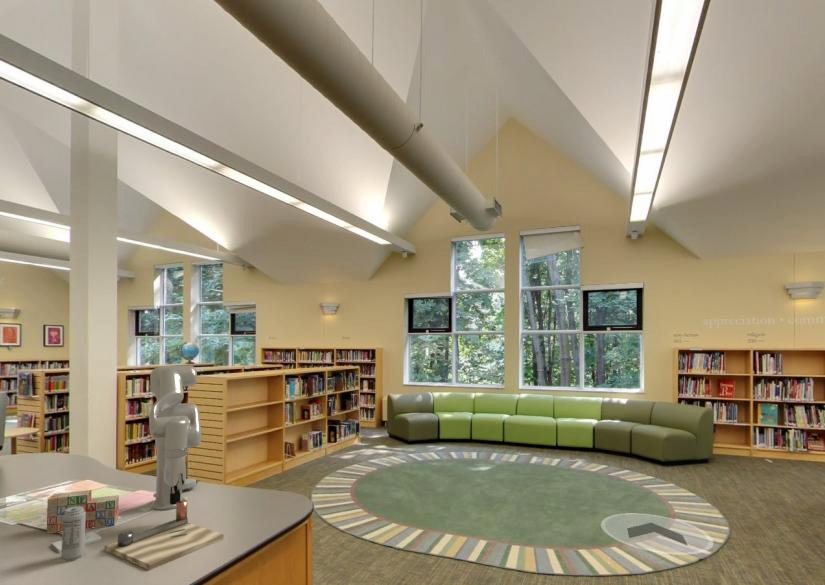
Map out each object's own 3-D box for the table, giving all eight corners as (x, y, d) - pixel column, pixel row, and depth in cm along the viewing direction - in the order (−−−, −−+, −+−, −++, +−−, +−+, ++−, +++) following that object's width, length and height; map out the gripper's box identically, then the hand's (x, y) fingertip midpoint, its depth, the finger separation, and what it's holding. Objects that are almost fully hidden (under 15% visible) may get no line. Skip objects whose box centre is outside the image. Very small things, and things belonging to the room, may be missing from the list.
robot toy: (160, 490, 228) (173, 495, 218) (160, 480, 229) (173, 484, 219) (187, 484, 237) (201, 488, 227) (187, 474, 238) (201, 478, 227)
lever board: (104, 550, 165) (104, 544, 165) (178, 523, 187) (178, 518, 187) (149, 570, 151) (149, 564, 151) (223, 538, 173) (223, 533, 173)
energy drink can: (88, 553, 163) (89, 505, 164) (76, 561, 157) (78, 512, 158) (69, 553, 163) (70, 505, 164) (56, 562, 157) (58, 512, 158)
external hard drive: (50, 547, 169) (92, 535, 178) (58, 554, 163) (101, 541, 173) (50, 542, 169) (92, 530, 178) (58, 549, 163) (101, 536, 173)
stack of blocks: (118, 520, 191) (119, 486, 192) (114, 526, 185) (115, 491, 186) (52, 527, 185) (53, 493, 185) (45, 534, 179) (47, 498, 180)
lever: (122, 547, 163) (122, 523, 163) (114, 544, 165) (115, 520, 166) (189, 522, 183) (190, 501, 184) (182, 520, 185) (182, 499, 186)
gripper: (158, 451, 192) (157, 501, 191) (172, 458, 182) (171, 510, 180) (179, 448, 197) (178, 496, 196) (193, 454, 187) (192, 505, 185)
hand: (175, 503), depth 188 cm, fingers closed
